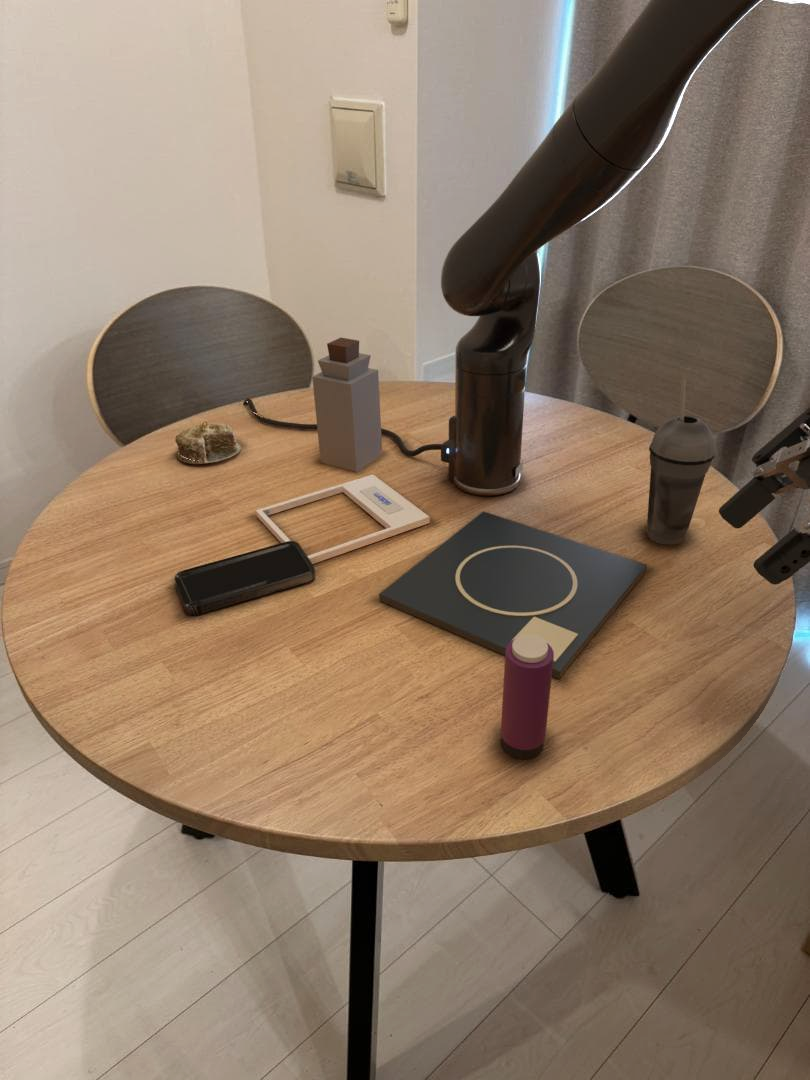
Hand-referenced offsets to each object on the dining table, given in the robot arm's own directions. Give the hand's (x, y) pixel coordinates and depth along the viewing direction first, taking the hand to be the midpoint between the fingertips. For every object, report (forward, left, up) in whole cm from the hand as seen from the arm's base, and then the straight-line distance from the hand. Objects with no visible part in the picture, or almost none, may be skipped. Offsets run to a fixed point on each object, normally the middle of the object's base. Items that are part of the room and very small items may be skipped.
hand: (743, 546), depth 55 cm
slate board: (-24, +9, -19) cm, 32 cm away
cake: (-81, +13, -19) cm, 84 cm away
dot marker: (-12, -11, -19) cm, 25 cm away
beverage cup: (-14, +29, -19) cm, 38 cm away
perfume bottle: (-61, +24, -19) cm, 68 cm away
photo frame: (-50, +9, -19) cm, 54 cm away
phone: (-50, -7, -19) cm, 54 cm away
